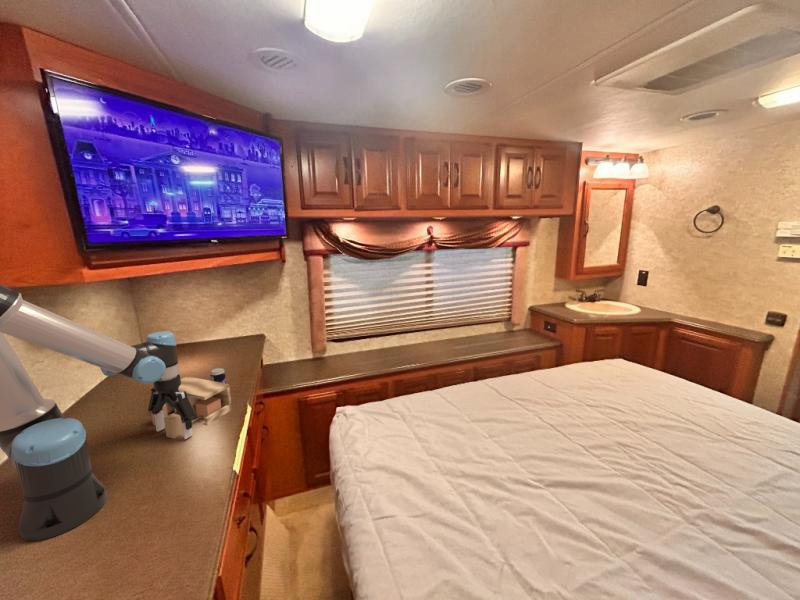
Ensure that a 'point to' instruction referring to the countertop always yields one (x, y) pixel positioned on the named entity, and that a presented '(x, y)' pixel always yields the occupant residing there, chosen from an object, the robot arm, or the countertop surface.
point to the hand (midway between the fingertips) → (174, 433)
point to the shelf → (205, 395)
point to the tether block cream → (164, 413)
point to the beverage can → (218, 375)
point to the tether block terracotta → (202, 411)
